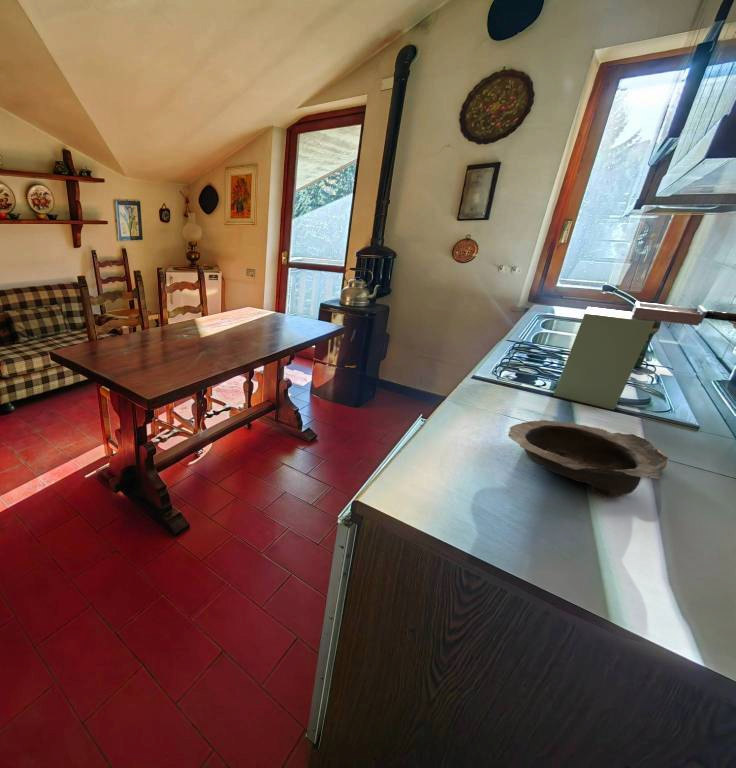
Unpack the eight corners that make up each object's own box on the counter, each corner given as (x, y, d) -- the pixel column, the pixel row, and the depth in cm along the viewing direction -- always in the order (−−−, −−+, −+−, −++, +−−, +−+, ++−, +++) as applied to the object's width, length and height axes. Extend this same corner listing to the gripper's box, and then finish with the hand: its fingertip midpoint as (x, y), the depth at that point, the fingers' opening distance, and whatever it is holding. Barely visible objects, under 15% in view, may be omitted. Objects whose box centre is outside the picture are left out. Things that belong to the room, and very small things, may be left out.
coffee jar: (607, 363, 148) (627, 315, 141) (606, 357, 154) (626, 311, 146) (642, 369, 143) (666, 319, 135) (640, 363, 148) (662, 315, 141)
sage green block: (614, 397, 120) (652, 314, 110) (614, 410, 112) (654, 322, 102) (557, 384, 129) (587, 306, 118) (553, 395, 121) (584, 313, 110)
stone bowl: (684, 522, 70) (705, 480, 67) (519, 498, 79) (530, 459, 75) (614, 449, 91) (627, 415, 88) (490, 437, 100) (497, 404, 97)
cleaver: (761, 326, 97) (769, 312, 95) (770, 334, 90) (779, 319, 89) (631, 311, 112) (637, 298, 110) (632, 317, 105) (637, 304, 103)
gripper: (790, 378, 87) (724, 337, 92) (767, 356, 100) (711, 322, 105) (829, 359, 83) (758, 317, 87) (800, 339, 96) (740, 303, 101)
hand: (732, 319), depth 96 cm, fingers open, 8 cm apart
